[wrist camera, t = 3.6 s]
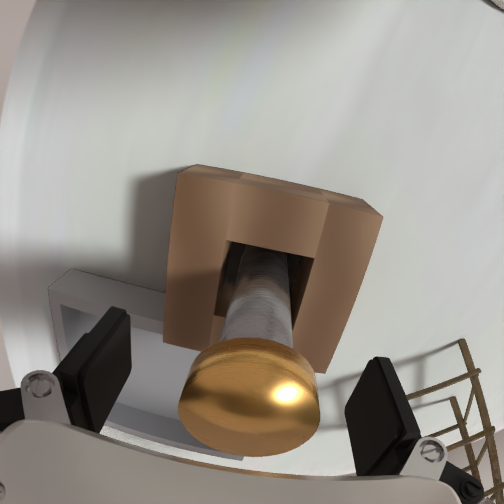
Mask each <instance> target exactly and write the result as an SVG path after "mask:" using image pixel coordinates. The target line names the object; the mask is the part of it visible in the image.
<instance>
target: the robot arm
mask: <svg viewBox="0 0 504 504" xmlns="http://www.w3.org/2000/svg"><path fill="white" fill-rule="evenodd" d="M491 1H492V2H494V3H495V4H496V5H498V6H499V7H500V8H502V9H504V0H491ZM131 369H132V357H131V318H130V315H129V314H127V312H126V310H125V309H122V308H118V307H114V306H111V307H110V308H109V309H108V311H107V312H106V313H105V314H104V315H103V317H102V318H101V319H100V320H99V321H98V323H97V324H96V325H95V326H94V327H93V329H92V330H91V331H90V332H89V333H85V334H83V335H82V337H81V338H80V339H79V340H78V341H77V343H76V344H75V345H74V346H73V348H72V349H71V350H70V351H69V353H68V354H67V355H66V356H65V358H64V359H63V360H62V361H61V363H60V364H59V365H58V366H57V368H56V369H55V370H54V371H53V373H50V372H48V371H44V370H37V371H33V372H30V373H28V374H27V375H26V376H25V377H24V378H23V379H22V381H21V388H16V389H10V390H5V391H0V504H495V503H494V502H493V501H492V500H491V499H490V498H488V497H487V498H484V497H483V496H484V488H483V486H482V484H481V482H480V481H479V480H478V479H476V478H475V477H473V476H471V475H469V474H468V473H466V472H465V471H463V470H461V469H459V468H458V467H456V466H454V465H453V464H451V463H449V462H448V461H447V457H448V452H447V449H446V447H445V445H444V444H443V443H442V442H441V441H439V440H438V439H436V438H433V437H423V438H422V437H421V434H420V433H421V432H420V429H419V427H418V424H417V422H416V419H415V417H414V414H413V412H412V409H411V407H410V404H409V402H408V400H407V397H406V395H405V393H404V390H403V388H402V386H401V383H400V381H399V379H398V376H397V374H396V372H395V370H394V367H393V365H392V363H391V361H390V359H389V358H386V357H374V358H373V360H369V362H368V363H367V365H366V368H365V370H364V371H363V373H362V375H361V377H360V379H359V381H358V383H357V385H356V387H355V389H354V391H353V393H352V394H351V396H350V398H349V400H348V402H347V404H346V406H345V417H346V422H347V427H348V432H349V437H350V442H351V447H352V452H353V458H354V463H355V469H356V474H357V476H308V475H292V474H279V473H269V472H260V471H252V470H245V469H238V468H231V467H225V466H219V465H214V464H208V463H203V462H198V461H194V460H189V459H185V458H180V457H176V456H172V455H168V454H164V453H160V452H157V451H153V450H149V449H146V448H142V447H139V446H136V445H132V444H129V443H126V442H122V441H119V440H116V439H113V438H110V437H107V436H104V435H101V434H99V433H100V431H101V429H102V427H103V425H104V423H105V421H106V419H107V417H108V416H109V414H110V412H111V410H112V408H113V406H114V404H115V402H116V400H117V398H118V396H119V394H120V392H121V390H122V389H123V387H124V385H125V383H126V381H127V379H128V377H129V375H130V373H131Z"/></svg>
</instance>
